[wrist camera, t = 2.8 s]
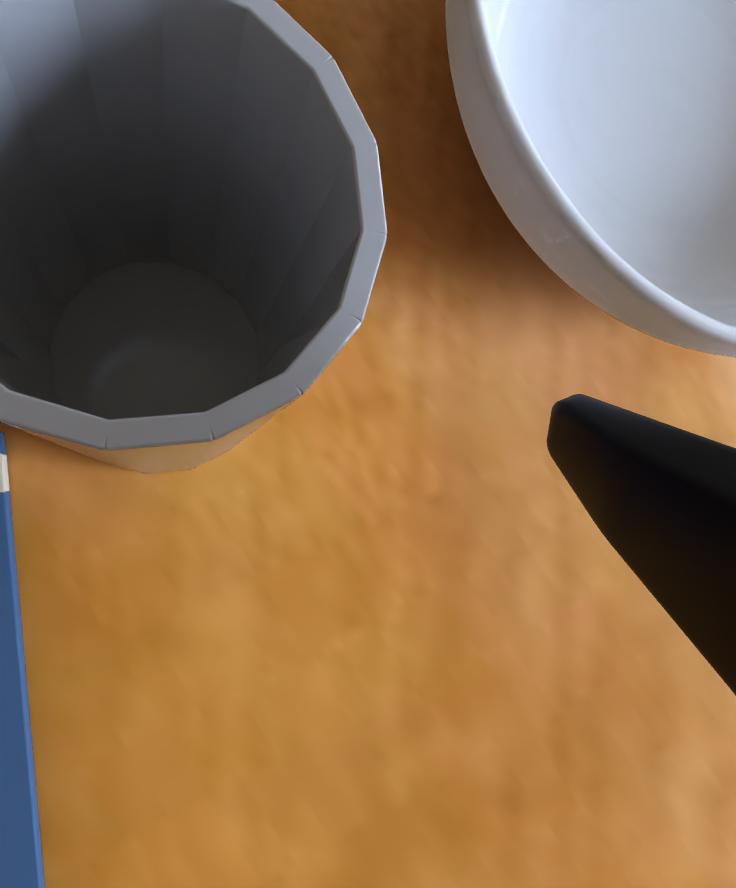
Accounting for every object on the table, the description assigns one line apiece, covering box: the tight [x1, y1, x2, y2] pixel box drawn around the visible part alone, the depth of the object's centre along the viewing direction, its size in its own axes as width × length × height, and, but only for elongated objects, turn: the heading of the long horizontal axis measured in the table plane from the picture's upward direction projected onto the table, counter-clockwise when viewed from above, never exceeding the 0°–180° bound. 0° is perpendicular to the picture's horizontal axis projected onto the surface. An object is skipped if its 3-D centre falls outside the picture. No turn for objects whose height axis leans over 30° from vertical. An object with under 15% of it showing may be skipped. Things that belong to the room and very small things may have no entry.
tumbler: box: [0, 0, 387, 474], centre depth 15 cm, size 7×7×13 cm
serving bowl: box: [446, 0, 736, 358], centre depth 24 cm, size 21×21×7 cm
